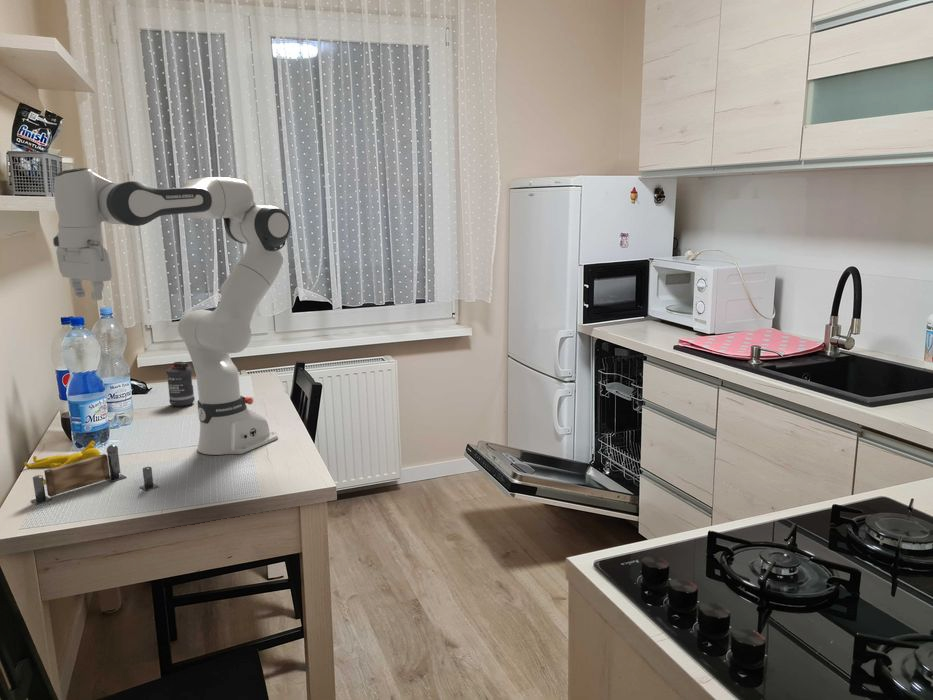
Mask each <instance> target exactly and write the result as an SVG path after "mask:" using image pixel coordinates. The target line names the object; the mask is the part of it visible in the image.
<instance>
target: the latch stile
mask: <svg viewBox="0 0 933 700" xmlns="http://www.w3.org/2000/svg"><path fill="white" fill-rule="evenodd" d="M32 482H33V490H34V495H35V496H34V497H35V498H33V499H31V500H30V501H31V503H33V504H34V505H36V506H37V505H41V504H44V503H47V502H51V501H52V499H51V497H50V496H48V495H46V489H45V486H46V479H45V478H44V476H43V475H41V474H40V475H34V476H33V477H32Z"/></svg>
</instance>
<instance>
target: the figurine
mask: <svg viewBox="0 0 933 700" xmlns="http://www.w3.org/2000/svg"><path fill="white" fill-rule="evenodd" d="M95 445H96V442H95V440H90V441H89V443H88V444H87V446H86V447H84V448H83V449H82V450H81V451H79V452H76V453H72V454H66V455H65V454H63V455H58V454H57V455H53V456H48V457H43V458H39V459H37V458H38V456H37V455H33V458H32V459H33V462H34V463H31V464H30V463H28V462H27V461H25V462H24V463H23V464H24V466H25V467H26V468H27V469H39V468H40V469H41V468H50V469H52V468H55V467H59V466H63V465H66V464H70V463H74V462H77V461H81V460H85V459H88V458H92V457H96V456H99V455H101V452H100V450H99V449H97V448H96V447H95Z"/></svg>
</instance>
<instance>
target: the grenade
mask: <svg viewBox="0 0 933 700" xmlns="http://www.w3.org/2000/svg"><path fill="white" fill-rule="evenodd" d="M172 364H173V365H172V366H171V367H168V369H166V375H167V386H168V387H167V388H168V396H169V404H170V405H172V406H174V407H175V408H183V407H188V406H190V405H192V403H194V402H195V394H194V385H193V381H192V373H193V368H192V367H191V366H190V365H189V363H188V362H185V361H175V362H173V363H172Z"/></svg>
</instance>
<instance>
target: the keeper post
mask: <svg viewBox="0 0 933 700" xmlns="http://www.w3.org/2000/svg"><path fill="white" fill-rule="evenodd" d="M142 476H143V477H142V478H143V484H144V485H140V486H139V489H141V490H143V491H145V492H147V490H148V491H151V490H153V488H154V489H157V488H159V487H160V486H159V485H158V484H156V483H154V478H153V477H154V476H153V469H152V466H144V467H143V468H142ZM156 487H157V488H156ZM150 489H151V490H150Z"/></svg>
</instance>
